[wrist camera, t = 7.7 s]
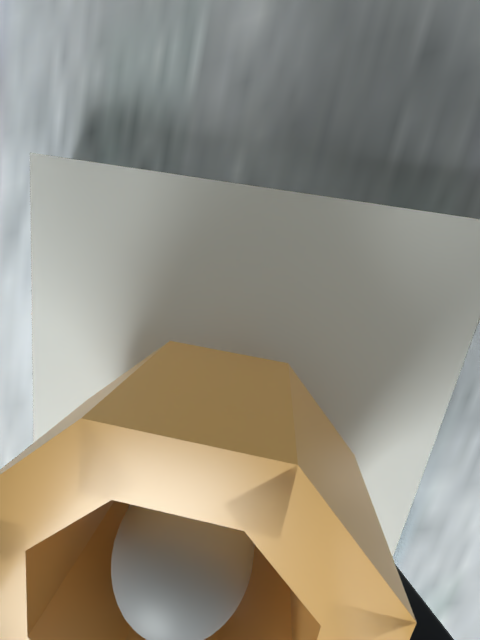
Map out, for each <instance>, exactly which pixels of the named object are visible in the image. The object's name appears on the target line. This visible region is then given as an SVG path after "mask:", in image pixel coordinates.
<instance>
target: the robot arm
mask: <svg viewBox="0 0 480 640" xmlns="http://www.w3.org/2000/svg"><path fill="white" fill-rule="evenodd" d="M395 566H396V565H395ZM396 568H397V571H398V574H399V576H400V579H401V582H402V584H403V587H404V590H405V592H406V595H407V598H408V600H409V603H410V606H411V609H412V611H413V614H414V617H415V619H416V622H417V623H416V626H415V628H414V630H413V633H412V635H411V638H410V640H454V639H453V638H452V637H451V635H450V634H449V633H448V631H447V630H446V629H445V628H444V626H443V625H442V624H441V622H440V621H439V620H438V619H437V617H436V616H435V615H434V613H433V612H432V611H431V610H430V608H429V607H428V606H427V605H426V603H425V602H424V601H423V599H422V598H421V597H420V596H419V594H418V593H417V592H416V590H415V589H414V588H413V587H412V585H411V584H410V583H409V581H408V580H407V579H406V578H405V576H404V575H403V574H402V572H401V571H400V570H399V569H398V567H397V566H396Z"/></svg>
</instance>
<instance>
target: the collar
mask: <svg viewBox="0 0 480 640" xmlns="http://www.w3.org/2000/svg"><path fill="white" fill-rule="evenodd" d="M130 505H136V506H140V507H144V508H148V509H153V510H157V511H161V512H165V513H170V514H174V515H178V516H182V517H187V518H191V519H195V520H199V521H204V522H208V523H212V524H216V525H221V526H225V527H229V528H233V529H238V530H242V531H245V533H246V534H247V535H248V536H249V538H250V539H251V540H252V541H253V543H254V544H255V546H254V558H253V565H252V572H251V576H250V580H249V583H248V586H247V589H246V591H245V594H244V596H243V598H242V600H241V602H240V604H239V606H238V607H237V609H236V610H235V612H234V613H233V615H232V616H231V617H230V618H229V620H228V621H227V622H226V623H225V624H224V625H223V626H222V627H221V628H220V629H219V630H217V631H216V632H215V633H214V634H212V635H211V636H209V637H208V638H206V639H204V640H410V638H411V635H412V633H413V630H414V628H415V626H416V623H417V622H416V619H415V617H414V614H413V611H412V609H411V606H410V603H409V600H408V598H407V595H406V592H405V590H404V587H403V584H402V582H401V579H400V576H399V574H398V571H397V568H396V566H395V563H394V560H393V558H392V555H391V552H390V549H389V547H388V544H387V541H386V539H385V536H384V533H383V531H382V528H381V525H380V523H379V520H378V517H377V515H376V512H375V509H374V506H373V504H372V501H371V498H370V496H369V493H368V490H367V488H366V485H365V482H364V480H363V477H362V474H361V472H360V469H359V466H358V463H357V461H356V458H355V455H354V454H353V452H352V451H351V450H350V448H349V447H348V446H347V444H346V443H345V441H344V440H343V439H342V437H341V436H340V434H339V433H338V432H337V430H336V429H335V427H334V426H333V425H332V423H331V422H330V421H329V419H328V418H327V416H326V415H325V414H324V412H323V411H322V409H321V408H320V407H319V405H318V404H317V402H316V401H315V400H314V398H313V397H312V396H311V394H310V393H309V391H308V390H307V389H306V387H305V386H304V384H303V383H302V382H301V380H300V379H299V377H298V376H297V375H296V373H295V372H294V371H293V369H292V368H291V366H290V365H289V364H288V363H285V362H279V361H274V360H269V359H264V358H258V357H253V356H248V355H243V354H237V353H232V352H227V351H222V350H216V349H211V348H206V347H200V346H195V345H190V344H185V343H179V342H174V341H169V342H168V343H166V344H165V345H163V346H162V347H161V348H159V349H158V350H156V351H155V352H153V353H152V354H151V355H149V356H148V357H146V358H145V359H144V360H142V361H141V362H139V363H138V364H137V365H135V366H134V367H132V368H131V369H130V370H128V371H127V372H125V373H124V374H123V375H121V376H120V377H118V378H117V379H116V380H114V381H113V382H111V383H110V384H109V385H107V386H106V387H104V388H103V389H102V390H100V391H99V392H97V393H96V394H95V395H93V396H92V397H90V398H89V399H88V400H86V401H85V402H84V403H83V404H81V405H80V406H79V407H78V408H76V409H75V410H74V411H73V412H71V413H70V414H69V415H68V416H66V417H65V418H64V419H63V420H61V421H60V422H59V423H58V424H57V425H55V426H54V427H53V428H52V429H50V430H49V431H48V432H47V433H45V434H44V435H43V436H42V437H40V438H39V439H38V440H37V441H35V442H34V443H33V444H32V445H30V446H29V447H28V448H27V449H25V450H24V451H23V452H22V453H20V454H19V455H18V456H17V457H15V458H14V459H13V460H12V461H10V462H9V463H8V464H7V465H5V466H4V467H3V468H2V469H0V640H146V639H145V638H143V637H142V636H140V635H139V634H138V633H137V632H136V631H135V630H134V629H133V628H132V627H131V626H130V625H129V624H128V622H127V621H126V620H125V618H124V617H123V615H122V613H121V611H120V608H119V606H118V604H117V601H116V598H115V595H114V591H113V586H112V578H111V558H112V551H113V546H114V541H115V538H116V535H117V532H118V529H119V526H120V524H121V522H122V519H123V517H124V516H125V514H126V512H127V510H128V508H129V507H130Z"/></svg>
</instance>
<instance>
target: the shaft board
mask: <svg viewBox="0 0 480 640" xmlns="http://www.w3.org/2000/svg"><path fill="white" fill-rule="evenodd" d="M30 205H31V284H32V364H33V443H34V442H35V441H37V440H38V439H39V438H40V437H42V436H43V435H44V434H45V433H47V432H48V431H49V430H50V429H52V428H53V427H54V426H55V425H57V424H58V423H59V422H60V421H61V420H63V419H64V418H65V417H66V416H68V415H69V414H70V413H71V412H73V411H74V410H75V409H76V408H78V407H79V406H80V405H81V404H83V403H84V402H85V401H86V400H88V399H89V398H90V397H92V396H93V395H95V394H96V393H97V392H99V391H100V390H102V389H103V388H104V387H106V386H107V385H109V384H110V383H111V382H113V381H114V380H116V379H117V378H118V377H120V376H121V375H123V374H124V373H125V372H127V371H128V370H130V369H131V368H132V367H134V366H135V365H137V364H138V363H139V362H141V361H142V360H144V359H145V358H146V357H148V356H149V355H151V354H152V353H153V352H155V351H156V350H158V349H159V348H161V347H162V346H163V345H165V344H166V343H168V342H169V341H174V342H179V343H185V344H190V345H195V346H200V347H206V348H211V349H216V350H222V351H227V352H232V353H237V354H243V355H248V356H253V357H258V358H264V359H269V360H274V361H279V362H285V363H288V364H289V365H290V366H291V368H292V369H293V371H294V372H295V373H296V375H297V376H298V377H299V379H300V380H301V382H302V383H303V384H304V386H305V387H306V389H307V390H308V391H309V393H310V394H311V396H312V397H313V398H314V400H315V401H316V402H317V404H318V405H319V407H320V408H321V409H322V411H323V412H324V414H325V415H326V416H327V418H328V419H329V421H330V422H331V423H332V425H333V426H334V427H335V429H336V430H337V432H338V433H339V434H340V436H341V437H342V439H343V440H344V441H345V443H346V444H347V446H348V447H349V448H350V450H351V451H352V452H353V454H354V455H355V458H356V461H357V463H358V466H359V469H360V472H361V474H362V477H363V480H364V482H365V485H366V488H367V490H368V493H369V496H370V498H371V501H372V504H373V506H374V509H375V512H376V515H377V517H378V520H379V523H380V525H381V528H382V531H383V533H384V536H385V539H386V541H387V544H388V547H389V549H390V552H391V555H392V558H393V555H394V553H395V550H396V547H397V544H398V542H399V539H400V536H401V533H402V531H403V528H404V525H405V522H406V520H407V517H408V514H409V511H410V509H411V506H412V503H413V500H414V498H415V495H416V492H417V489H418V487H419V484H420V481H421V478H422V476H423V473H424V470H425V467H426V465H427V462H428V459H429V456H430V454H431V451H432V448H433V446H434V443H435V440H436V437H437V435H438V432H439V429H440V426H441V424H442V421H443V418H444V415H445V413H446V410H447V407H448V404H449V402H450V399H451V396H452V393H453V391H454V388H455V385H456V382H457V380H458V377H459V374H460V371H461V369H462V366H463V363H464V360H465V358H466V355H467V352H468V349H469V347H470V344H471V341H472V338H473V336H474V333H475V330H476V327H477V325H478V322H479V319H480V219H475V218H468V217H461V216H454V215H448V214H441V213H434V212H427V211H421V210H414V209H407V208H400V207H394V206H387V205H380V204H373V203H367V202H360V201H353V200H346V199H340V198H333V197H326V196H319V195H313V194H306V193H299V192H292V191H286V190H279V189H272V188H265V187H259V186H252V185H245V184H238V183H232V182H225V181H218V180H211V179H205V178H198V177H191V176H184V175H178V174H171V173H164V172H157V171H151V170H144V169H137V168H130V167H124V166H117V165H110V164H103V163H97V162H90V161H83V160H76V159H70V158H63V157H56V156H49V155H43V154H36V153H30ZM254 546H255V544H254V543H253V541H252V540H251V539H250V538H249V536H248V535H247V534H246V533H245V531H242V530H238V529H233V528H229V527H225V526H221V525H216V524H212V523H208V522H204V521H199V520H195V519H191V518H187V517H182V516H178V515H174V514H170V513H165V512H161V511H157V510H153V509H148V508H144V507H140V506H136V505H130V507H129V508H128V510H127V512H126V514H125V516H124V517H123V519H122V522H121V524H120V526H119V529H118V532H117V535H116V538H115V541H114V546H113V551H112V558H111V578H112V586H113V591H114V595H115V598H116V601H117V604H118V606H119V608H120V611H121V613H122V615H123V617H124V618H125V620H126V621H127V622H128V624H129V625H130V626H131V627H132V628H133V629H134V630H135V631H136V632H137V633H138V634H139V635H140V636H142V637H143V638H145V639H146V640H204V639H206V638H208V637H209V636H211V635H212V634H214V633H215V632H216V631H217V630H219V629H220V628H221V627H222V626H223V625H224V624H225V623H226V622H227V621H228V620H229V618H230V617H231V616H232V615H233V613H234V612H235V610H236V609H237V607H238V606H239V604H240V602H241V600H242V598H243V596H244V594H245V591H246V589H247V586H248V583H249V580H250V576H251V572H252V565H253V558H254Z"/></svg>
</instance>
